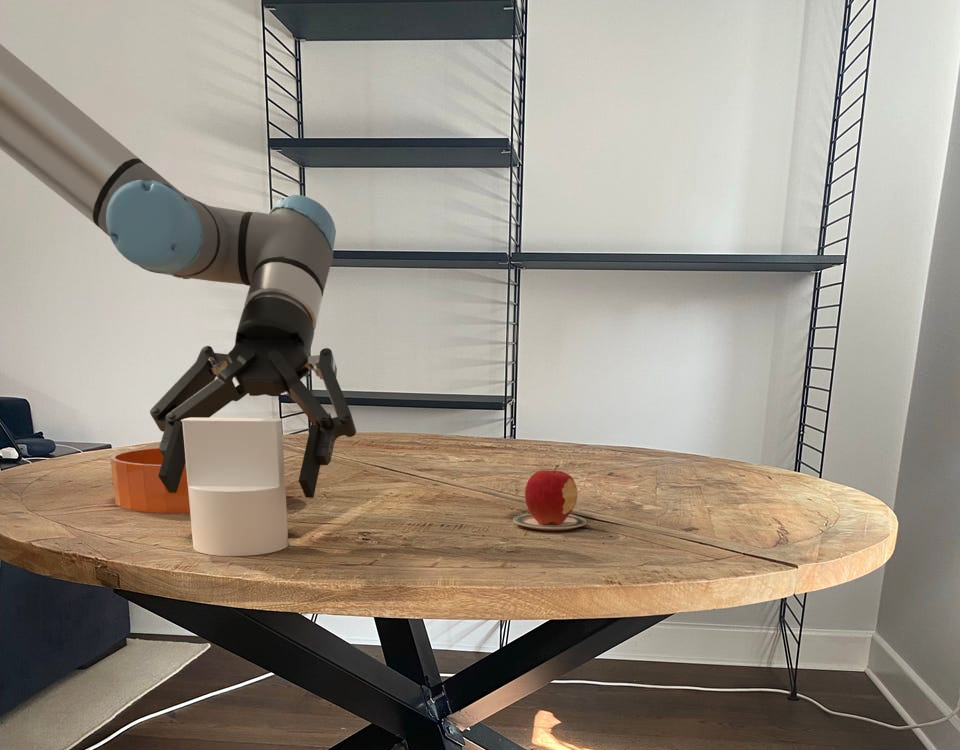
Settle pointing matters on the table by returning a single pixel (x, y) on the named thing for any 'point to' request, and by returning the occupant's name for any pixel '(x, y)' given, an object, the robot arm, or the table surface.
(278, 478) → the cylinder with rectangular tab
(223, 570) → the table surface
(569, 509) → the apple
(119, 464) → the orange shallow round tray
